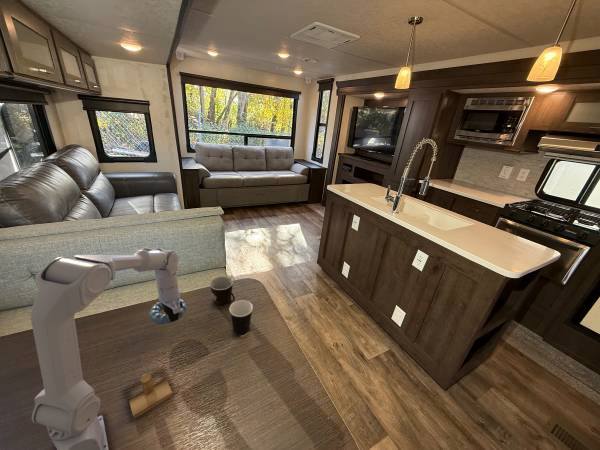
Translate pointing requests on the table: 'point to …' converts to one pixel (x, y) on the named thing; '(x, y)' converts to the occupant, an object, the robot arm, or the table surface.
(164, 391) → the hook stand
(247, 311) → the dixie cup
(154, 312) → the blue beaded bracelet
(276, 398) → the table surface
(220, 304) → the coffee mug
